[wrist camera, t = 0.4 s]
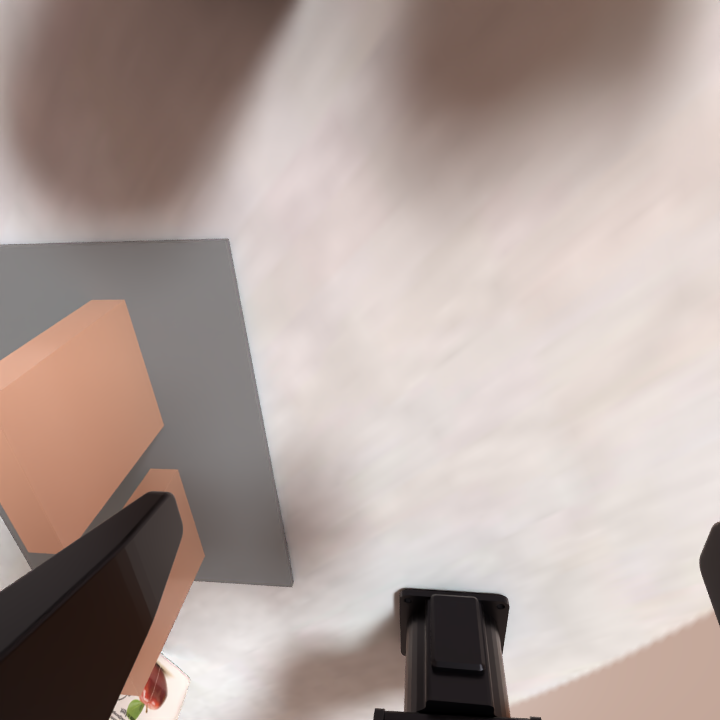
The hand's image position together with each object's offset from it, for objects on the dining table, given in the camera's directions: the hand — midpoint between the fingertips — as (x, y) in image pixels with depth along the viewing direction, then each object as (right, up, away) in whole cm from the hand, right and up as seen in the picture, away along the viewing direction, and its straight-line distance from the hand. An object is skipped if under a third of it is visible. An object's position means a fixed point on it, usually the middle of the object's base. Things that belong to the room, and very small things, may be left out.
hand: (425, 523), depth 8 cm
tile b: (-12, +2, +15) cm, 20 cm away
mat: (-15, -2, +19) cm, 24 cm away
